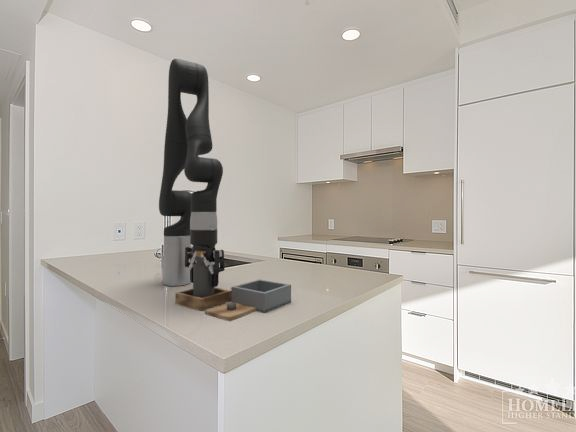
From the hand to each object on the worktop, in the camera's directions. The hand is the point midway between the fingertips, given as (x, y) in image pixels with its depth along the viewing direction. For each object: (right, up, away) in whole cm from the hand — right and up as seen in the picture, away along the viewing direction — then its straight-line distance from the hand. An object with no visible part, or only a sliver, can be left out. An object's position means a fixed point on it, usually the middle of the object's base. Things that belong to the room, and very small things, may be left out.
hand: (203, 284), depth 91 cm
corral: (0, -5, 0) cm, 5 cm away
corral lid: (+9, -5, -8) cm, 14 cm away
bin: (+17, -5, -1) cm, 17 cm away
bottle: (0, -5, 0) cm, 5 cm away
